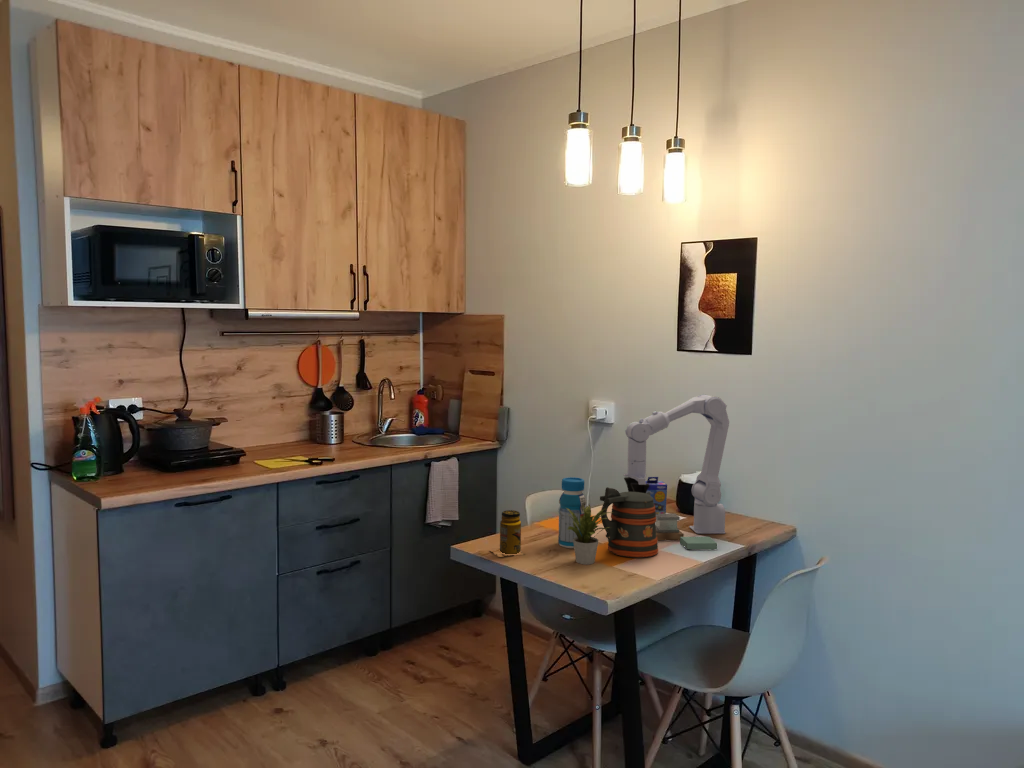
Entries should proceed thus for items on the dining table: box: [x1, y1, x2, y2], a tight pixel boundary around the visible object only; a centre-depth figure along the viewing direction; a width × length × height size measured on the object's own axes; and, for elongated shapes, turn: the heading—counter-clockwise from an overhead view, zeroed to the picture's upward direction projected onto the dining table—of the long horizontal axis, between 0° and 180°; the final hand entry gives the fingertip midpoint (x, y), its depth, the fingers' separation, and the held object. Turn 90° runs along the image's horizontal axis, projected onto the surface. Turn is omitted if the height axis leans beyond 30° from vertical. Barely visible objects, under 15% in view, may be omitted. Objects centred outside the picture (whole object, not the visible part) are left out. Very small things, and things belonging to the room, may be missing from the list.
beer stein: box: [599, 487, 659, 559], centre depth 216 cm, size 19×15×20 cm
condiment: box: [499, 509, 522, 554], centre depth 214 cm, size 7×8×12 cm
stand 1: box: [656, 529, 685, 541], centre depth 233 cm, size 9×7×2 cm
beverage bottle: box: [557, 476, 587, 549], centre depth 223 cm, size 8×8×20 cm
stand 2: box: [679, 536, 718, 550], centre depth 224 cm, size 9×7×2 cm
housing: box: [655, 513, 681, 533], centre depth 233 cm, size 7×4×5 cm, turn 95°
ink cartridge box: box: [645, 476, 668, 514], centre depth 258 cm, size 10×6×14 cm, turn 96°
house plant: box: [566, 504, 614, 566], centre depth 206 cm, size 14×14×16 cm
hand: (636, 502), depth 236 cm, fingers open, 7 cm apart
